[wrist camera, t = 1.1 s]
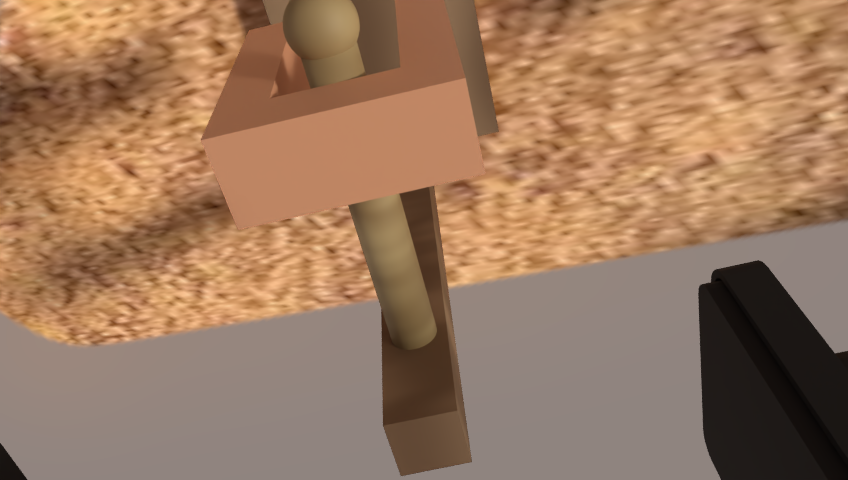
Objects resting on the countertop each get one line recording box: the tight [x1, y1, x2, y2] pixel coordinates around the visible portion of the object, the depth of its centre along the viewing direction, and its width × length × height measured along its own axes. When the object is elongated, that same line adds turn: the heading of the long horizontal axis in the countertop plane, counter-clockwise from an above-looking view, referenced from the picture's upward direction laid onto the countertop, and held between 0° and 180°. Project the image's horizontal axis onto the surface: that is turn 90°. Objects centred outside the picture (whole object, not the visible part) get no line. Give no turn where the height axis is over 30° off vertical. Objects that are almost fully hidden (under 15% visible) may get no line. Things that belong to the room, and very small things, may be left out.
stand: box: [262, 0, 499, 476], centre depth 28 cm, size 9×12×22 cm
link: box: [201, 0, 485, 230], centre depth 21 cm, size 6×2×8 cm, turn 103°
